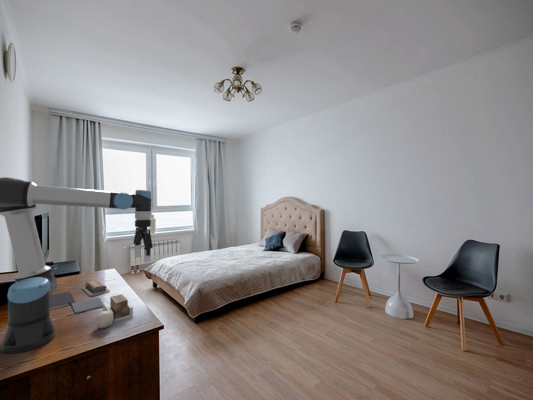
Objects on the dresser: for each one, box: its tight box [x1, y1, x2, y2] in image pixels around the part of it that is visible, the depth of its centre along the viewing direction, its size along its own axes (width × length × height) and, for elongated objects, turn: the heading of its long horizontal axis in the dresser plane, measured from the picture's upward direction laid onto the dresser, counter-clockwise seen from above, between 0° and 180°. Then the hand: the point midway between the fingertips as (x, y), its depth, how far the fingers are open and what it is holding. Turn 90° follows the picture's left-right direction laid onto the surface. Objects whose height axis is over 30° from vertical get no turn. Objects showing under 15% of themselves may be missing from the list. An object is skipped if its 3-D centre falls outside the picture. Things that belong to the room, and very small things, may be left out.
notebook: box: [49, 291, 76, 311], centre depth 133 cm, size 13×2×21 cm
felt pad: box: [71, 297, 103, 314], centre depth 128 cm, size 12×14×1 cm
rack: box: [102, 301, 134, 323], centre depth 120 cm, size 9×17×4 cm, turn 44°
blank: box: [109, 294, 129, 320], centre depth 118 cm, size 5×10×8 cm, turn 44°
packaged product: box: [81, 279, 111, 297], centre depth 150 cm, size 18×5×10 cm
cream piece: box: [92, 310, 114, 329], centre depth 107 cm, size 7×7×7 cm
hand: (142, 259), depth 129 cm, fingers open, 13 cm apart
